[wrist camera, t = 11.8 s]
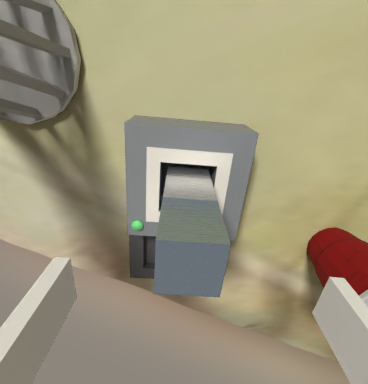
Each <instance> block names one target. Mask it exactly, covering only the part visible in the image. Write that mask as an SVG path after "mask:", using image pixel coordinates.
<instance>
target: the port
mask: <svg viewBox="0 0 368 384" xmlns="http://www.w3.org/2000/svg"><path fill="white" fill-rule="evenodd" d="M124 124H125V159H126V194H127V230H128V235H141V236H156V235H157V229H158V223H159V217H160V211H161V205H162V199H163V193H164V188H165V182H166V176H167V170H168V164H169V163H178V164H191V165H204V166H207V167H208V171H209V174H210V177H211V180H212V184H213V187H214V190H215V194H216V197H217V200H218V203H219V207H220V210H221V213H222V217H223V220H224V223H225V226H226V230H227V233H228V236H229V240H230V241H235V239H236V235H237V230H238V225H239V221H240V216H241V212H242V207H243V203H244V198H245V194H246V189H247V185H248V180H249V176H250V171H251V167H252V162H253V157H254V153H255V148H256V144H257V139H258V135H259V134H258V133H257V132H255V131H254V130H252V129H251V128H249V127H248V126H246V125H242V124H230V123H218V122H206V121H195V120H183V119H171V118H159V117H148V116H136V115H135V116H134V117H132V118H131V119H129V120H128V121H126V122H125V123H124Z"/></svg>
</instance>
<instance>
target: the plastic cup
mask: <svg viewBox="0 0 368 384" xmlns="http://www.w3.org/2000/svg"><path fill="white" fill-rule="evenodd" d="M307 249H308V253H309V256H310V259H311V261H312V263H313V265H314V267H315V270H316V273H317V275H318V277H319V279H320V281H321V284H322V286H323V288H324V287H325V285H326V283H327V281H328V279H329V277H337V278H345V280H346V281H347V282H348V283H349V285H350V286H351V287H352V288H353V290H354V291H355V292H356V293H357V294H358V296H359V297H360V298H361V299H362V301H363V302H364V303H365V304H366V306H367V307H368V243H367V242H365V241H362V240H360V239H359V238H357V237H355V236H354V235H352V234H350V233H349V232H347V231H344V230H342V229H339V228H327V229H324V230H321V231H319V232H318V233H317V234H315V235H314V236H313V237H312V238H311V240H310V241H309V243H308V247H307Z"/></svg>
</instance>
